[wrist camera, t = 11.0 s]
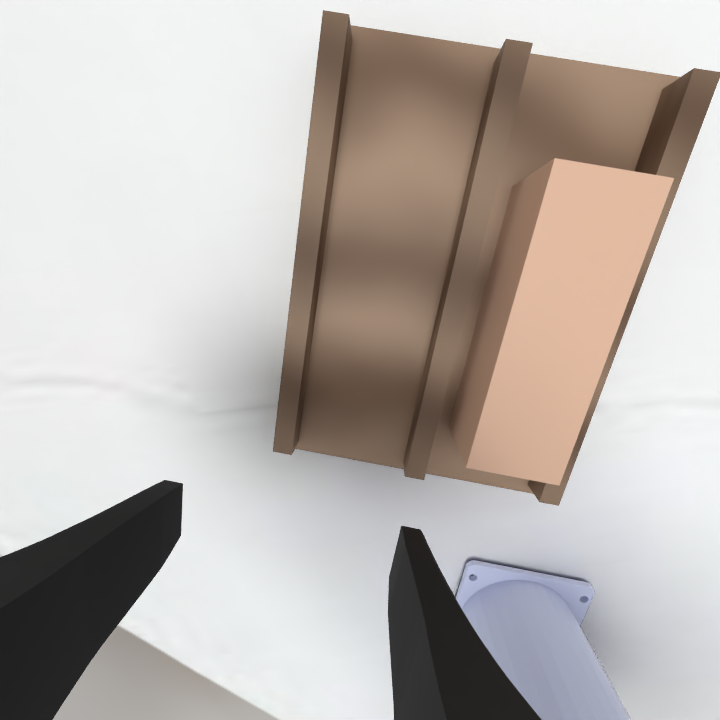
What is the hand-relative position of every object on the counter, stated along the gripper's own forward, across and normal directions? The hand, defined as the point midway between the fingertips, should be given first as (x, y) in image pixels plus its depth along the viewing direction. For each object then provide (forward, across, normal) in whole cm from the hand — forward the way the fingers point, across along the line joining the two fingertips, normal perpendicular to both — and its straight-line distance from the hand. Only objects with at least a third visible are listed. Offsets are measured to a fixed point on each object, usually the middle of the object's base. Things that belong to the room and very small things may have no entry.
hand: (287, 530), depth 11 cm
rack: (+9, -5, -8) cm, 13 cm away
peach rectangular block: (+8, -8, -7) cm, 14 cm away
